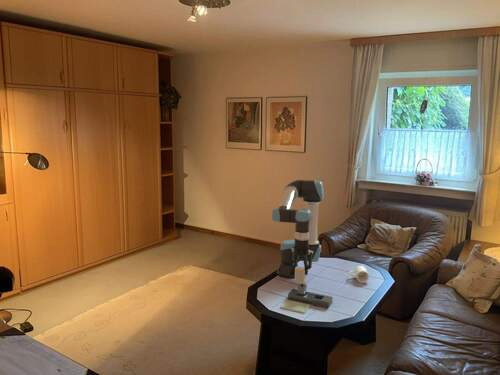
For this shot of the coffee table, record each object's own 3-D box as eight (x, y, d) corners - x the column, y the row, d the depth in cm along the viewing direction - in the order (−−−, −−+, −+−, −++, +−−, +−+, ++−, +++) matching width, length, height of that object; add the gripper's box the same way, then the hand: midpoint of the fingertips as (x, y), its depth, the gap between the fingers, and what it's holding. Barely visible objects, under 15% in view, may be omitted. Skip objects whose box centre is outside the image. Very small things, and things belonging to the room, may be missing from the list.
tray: (280, 308, 225) (280, 306, 225) (286, 301, 234) (286, 299, 234) (304, 314, 219) (304, 312, 219) (310, 306, 228) (310, 304, 228)
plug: (295, 282, 224) (295, 268, 223) (297, 280, 228) (298, 266, 226) (302, 284, 222) (302, 270, 221) (304, 281, 226) (305, 267, 225)
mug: (365, 277, 272) (366, 265, 271) (368, 283, 263) (369, 271, 261) (347, 276, 274) (348, 264, 272) (349, 282, 264) (350, 270, 262)
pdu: (287, 300, 236) (288, 280, 234) (292, 295, 243) (293, 276, 241) (328, 309, 225) (329, 288, 223) (332, 303, 232) (333, 283, 230)
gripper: (284, 238, 221) (283, 278, 225) (314, 242, 214) (313, 284, 218) (289, 234, 228) (288, 274, 232) (319, 239, 220) (317, 279, 224)
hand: (300, 279), depth 225 cm, fingers closed on plug, 4 cm apart
